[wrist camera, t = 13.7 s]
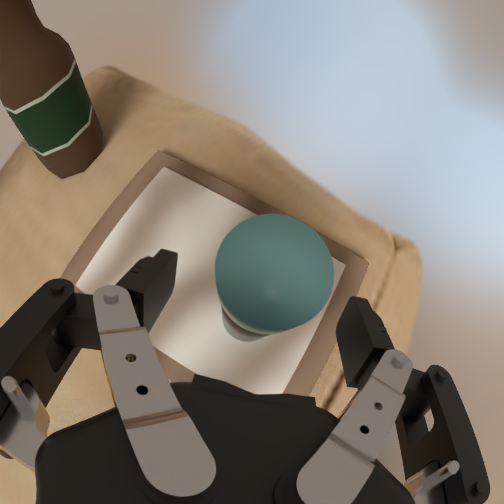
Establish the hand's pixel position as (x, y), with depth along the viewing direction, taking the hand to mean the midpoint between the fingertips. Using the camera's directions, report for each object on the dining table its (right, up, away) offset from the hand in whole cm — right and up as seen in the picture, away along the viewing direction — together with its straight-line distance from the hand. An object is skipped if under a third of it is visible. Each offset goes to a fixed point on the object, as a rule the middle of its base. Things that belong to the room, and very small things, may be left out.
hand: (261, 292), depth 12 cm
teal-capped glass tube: (-1, -3, +8) cm, 8 cm away
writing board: (-4, -1, +9) cm, 10 cm away
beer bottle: (-20, +13, +13) cm, 27 cm away
